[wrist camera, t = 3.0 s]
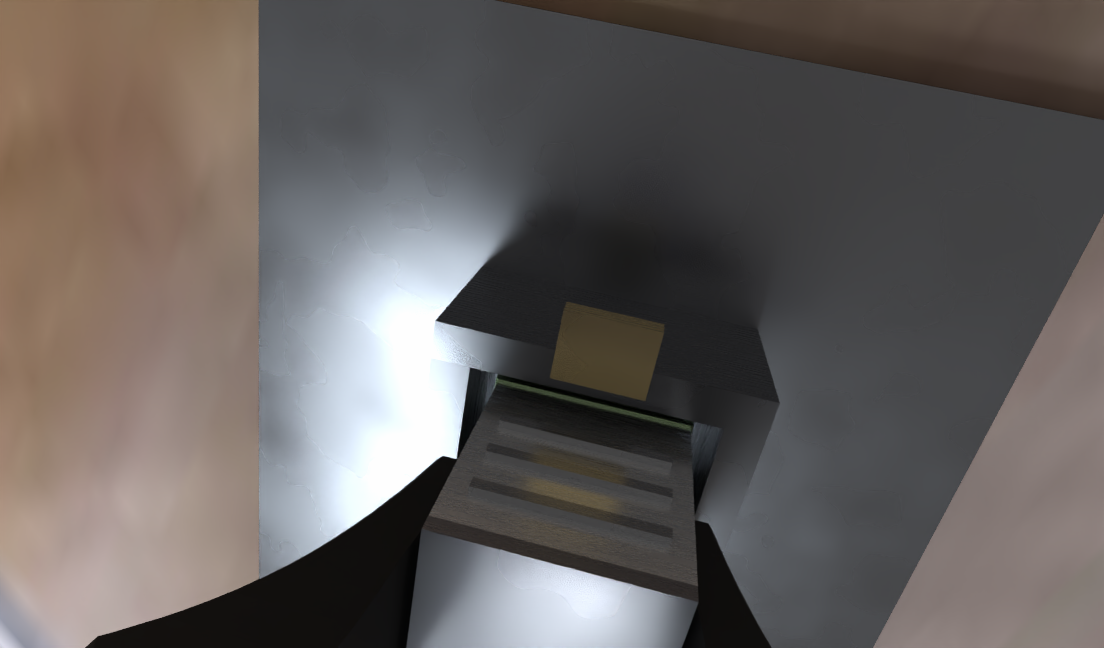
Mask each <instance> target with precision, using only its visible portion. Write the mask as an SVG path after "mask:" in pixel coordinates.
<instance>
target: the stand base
mask: <svg viewBox="0 0 1104 648" xmlns="http://www.w3.org/2000/svg"><path fill="white" fill-rule="evenodd" d="M1103 214H1104V120H1101V119H1096V118H1091V117H1086V116H1081V115H1076V114H1071V113H1066V112H1060V111H1055V110H1050V109H1045V108H1040V107H1035V106H1030V105H1025V104H1020V103H1015V102H1010V101H1004V100H999V99H994V98H989V97H984V96H979V95H974V94H969V93H964V92H959V91H954V90H949V89H943V88H938V87H933V86H928V85H923V84H918V83H913V82H908V81H903V80H898V79H893V78H887V77H882V76H877V75H872V74H867V73H862V72H857V71H852V70H847V69H842V68H837V67H832V66H826V65H821V64H816V63H811V62H806V61H801V60H796V59H791V58H786V57H781V56H776V55H771V54H765V53H760V52H755V51H750V50H745V49H740V48H735V47H730V46H725V45H720V44H715V43H709V42H704V41H699V40H694V39H689V38H684V37H679V36H674V35H669V34H664V33H659V32H654V31H648V30H643V29H638V28H633V27H628V26H623V25H618V24H613V23H608V22H603V21H598V20H592V19H587V18H582V17H577V16H572V15H567V14H562V13H557V12H552V11H547V10H542V9H537V8H531V7H526V6H521V5H516V4H511V3H506V2H501V1H496V0H259V579H261V578H263V577H265V576H267V575H269V574H271V573H273V572H275V571H277V570H279V569H281V568H283V567H285V566H287V565H289V564H291V563H292V562H294V561H296V560H298V559H300V558H301V557H303V556H305V555H307V554H309V553H310V552H312V551H314V550H315V549H317V548H319V547H321V546H322V545H324V544H325V543H327V542H329V541H330V540H332V539H333V538H335V537H337V536H338V535H340V534H341V533H343V532H344V531H345V530H347V529H348V528H350V527H351V526H353V525H354V524H356V523H357V522H359V521H360V520H362V519H363V518H365V517H366V516H367V515H369V514H370V513H372V512H373V511H374V510H376V509H377V508H378V507H380V506H381V505H382V504H383V503H385V502H386V501H387V500H389V499H390V498H391V497H393V496H394V495H395V494H397V493H398V492H399V491H400V490H402V489H403V488H404V487H405V486H406V485H408V484H409V483H410V482H411V481H412V480H414V479H415V478H416V477H417V476H418V475H420V474H421V473H422V472H423V471H424V470H425V469H426V468H428V467H429V466H430V465H431V464H432V463H433V462H434V461H435V460H436V459H438V458H440V457H442V456H446V457H450V458H454V459H458V458H459V456H460V454H461V452H462V450H463V448H464V446H465V444H466V442H467V440H468V438H469V437H470V435H471V433H472V431H473V429H474V427H475V425H476V423H477V421H478V419H479V417H480V415H481V413H482V412H483V410H484V408H485V406H486V404H487V402H488V400H489V398H490V396H491V394H492V392H493V390H494V388H495V383H496V378H497V376H498V374H500V375H504V376H508V377H512V378H516V379H520V380H524V381H529V382H533V383H537V384H541V385H545V386H549V387H553V388H557V389H561V390H566V391H570V392H574V393H578V394H582V395H586V396H590V397H594V398H598V399H603V400H607V401H611V402H615V403H619V404H623V405H627V406H631V407H636V408H640V409H644V410H648V411H652V412H656V413H660V414H664V415H668V416H673V417H677V418H681V419H685V420H689V421H693V425H694V427H693V430H692V433H691V451H692V472H693V494H694V515H695V520H697V521H701V522H705V523H709V525H710V527H711V528H712V530H713V532H714V535H715V537H716V539H717V542H718V544H719V546H720V548H721V551H722V553H723V555H724V557H725V559H726V562H727V564H728V566H729V568H730V570H731V572H732V574H733V577H734V579H735V581H736V583H737V585H738V587H739V589H740V591H741V593H742V595H743V597H744V598H745V600H746V602H747V604H748V606H749V608H750V610H751V612H752V614H753V615H754V617H755V619H756V621H757V623H758V625H759V626H760V628H761V630H762V632H763V634H764V635H765V637H766V639H767V640H768V642H769V644H770V645H771V647H772V648H873V646H874V645H875V643H876V641H877V639H878V637H879V635H880V633H881V631H882V630H883V628H884V626H885V624H886V622H887V620H888V618H889V616H890V614H891V613H892V611H893V609H894V607H895V605H896V603H897V601H898V599H899V598H900V596H901V594H902V592H903V590H904V588H905V586H906V584H907V583H908V581H909V579H910V577H911V575H912V573H913V571H914V569H915V567H916V566H917V564H918V562H919V560H920V558H921V556H922V554H923V552H924V551H925V549H926V547H927V545H928V543H929V541H930V539H931V537H932V536H933V534H934V532H935V530H936V528H937V526H938V524H939V522H940V520H941V519H942V517H943V515H944V513H945V511H946V509H947V507H948V505H949V504H950V502H951V500H952V498H953V496H954V494H955V492H956V490H957V489H958V487H959V485H960V483H961V481H962V479H963V477H964V475H965V473H966V472H967V470H968V468H969V466H970V464H971V462H972V460H973V458H974V457H975V455H976V453H977V451H978V449H979V447H980V445H981V443H982V442H983V440H984V438H985V436H986V434H987V432H988V430H989V428H990V426H991V425H992V423H993V421H994V419H995V417H996V415H997V413H998V411H999V410H1000V408H1001V406H1002V404H1003V402H1004V400H1005V398H1006V396H1007V395H1008V393H1009V391H1010V389H1011V387H1012V385H1013V383H1014V381H1015V379H1016V378H1017V376H1018V374H1019V372H1020V370H1021V368H1022V366H1023V364H1024V363H1025V361H1026V359H1027V357H1028V355H1029V353H1030V351H1031V349H1032V348H1033V346H1034V344H1035V342H1036V340H1037V338H1038V336H1039V334H1040V332H1041V331H1042V329H1043V327H1044V325H1045V323H1046V321H1047V319H1048V317H1049V316H1050V314H1051V312H1052V310H1053V308H1054V306H1055V304H1056V302H1057V301H1058V299H1059V297H1060V295H1061V293H1062V291H1063V289H1064V287H1065V285H1066V284H1067V282H1068V280H1069V278H1070V276H1071V274H1072V272H1073V270H1074V269H1075V267H1076V265H1077V263H1078V261H1079V259H1080V257H1081V255H1082V254H1083V252H1084V250H1085V248H1086V246H1087V244H1088V242H1089V240H1090V238H1091V237H1092V235H1093V233H1094V231H1095V229H1096V227H1097V225H1098V223H1099V222H1100V220H1101V218H1102V216H1103Z"/></svg>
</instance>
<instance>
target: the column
mask: <svg viewBox="0 0 1104 648" xmlns="http://www.w3.org/2000/svg"><path fill="white" fill-rule="evenodd" d="M693 427H694V425H693V421H689V420H685V419H681V418H677V417H673V416H668V415H664V414H660V413H656V412H652V411H648V410H644V409H640V408H636V407H631V406H627V405H623V404H619V403H615V402H611V401H607V400H603V399H598V398H594V397H590V396H586V395H582V394H578V393H574V392H570V391H566V390H561V389H557V388H553V387H549V386H545V385H541V384H537V383H533V382H529V381H524V380H520V379H516V378H512V377H508V376H504V375H500V374H498V376H497V378H496V383H495V388H494V390H493V392H492V394H491V396H490V398H489V400H488V402H487V404H486V406H485V408H484V410H483V412H482V413H481V415H480V417H479V419H478V421H477V423H476V425H475V427H474V429H473V431H472V433H471V435H470V437H469V438H468V440H467V442H466V444H465V446H464V448H463V450H462V452H461V454H460V456H459V458H458V460H457V462H456V464H455V465H454V467H453V469H452V471H451V473H450V475H449V477H448V479H447V481H446V483H445V485H444V487H443V489H442V490H441V492H440V494H439V496H438V498H437V500H436V502H435V504H434V506H433V508H432V510H431V512H430V514H429V515H428V517H427V519H426V521H425V523H424V525H423V527H422V529H421V537H420V545H419V553H418V561H417V569H416V577H415V584H414V592H413V600H412V608H411V616H410V624H409V632H408V639H407V647H406V648H682V646H683V643H684V641H685V638H686V635H687V632H688V630H689V627H690V624H691V621H692V619H693V616H694V613H695V611H696V608H697V605H698V602H699V601H698V580H697V558H696V537H695V515H694V494H693V472H692V451H691V433H692V430H693Z"/></svg>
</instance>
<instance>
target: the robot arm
mask: <svg viewBox="0 0 1104 648" xmlns="http://www.w3.org/2000/svg"><path fill="white" fill-rule="evenodd" d="M457 460H458V459H454V458H450V457H446V456H442V457H440V458H438V459H436V460H435V461H434V462H433V463H432V464H431V465H430V466H429V467H428V468H426V469H425V470H424V471H423V472H422V473H421V474H420V475H418V476H417V477H416V478H415V479H414V480H412V481H411V482H410V483H409V484H408V485H406V486H405V487H404V488H403V489H402V490H400V491H399V492H398V493H397V494H395V495H394V496H393V497H391V498H390V499H389V500H387V501H386V502H385V503H383V504H382V505H381V506H380V507H378V508H377V509H376V510H374V511H373V512H372V513H370V514H369V515H367V516H366V517H365V518H363V519H362V520H360V521H359V522H357V523H356V524H354V525H353V526H351V527H350V528H348V529H347V530H345V531H344V532H343V533H341V534H340V535H338V536H337V537H335V538H333V539H332V540H330V541H329V542H327V543H325V544H324V545H322V546H321V547H319V548H317V549H315V550H314V551H312V552H310V553H309V554H307V555H305V556H303V557H301V558H300V559H298V560H296V561H294V562H292V563H291V564H289V565H287V566H285V567H283V568H281V569H279V570H277V571H275V572H273V573H271V574H269V575H267V576H265V577H263V578H261V579H258V580H256V581H254V582H252V583H250V584H248V585H246V586H243V587H241V588H239V589H237V590H234V591H232V592H230V593H227V594H225V595H222V596H220V597H217V598H215V599H212V600H210V601H207V602H204V603H202V604H199V605H196V606H194V607H191V608H188V609H185V610H183V611H180V612H177V613H174V614H171V615H168V616H165V617H162V618H159V619H155V620H152V621H149V622H145V623H142V624H139V625H136V626H132V627H129V628H126V629H122V630H119V631H116V632H112V633H109V634H105V635H101V636H98V637H97V638H95V639H94V640H93V641H92V642H91V643H90V644H89V645H88V646H87V647H85V648H406V647H407V639H408V632H409V624H410V616H411V608H412V600H413V592H414V584H415V577H416V569H417V561H418V553H419V545H420V537H421V529H422V527H423V525H424V523H425V521H426V519H427V517H428V515H429V514H430V512H431V510H432V508H433V506H434V504H435V502H436V500H437V498H438V496H439V494H440V492H441V490H442V489H443V487H444V485H445V483H446V481H447V479H448V477H449V475H450V473H451V471H452V469H453V467H454V465H455V464H456V462H457ZM695 537H696V558H697V580H698V601H699V602H698V605H697V608H696V611H695V613H694V616H693V619H692V621H691V624H690V627H689V630H688V632H687V635H686V638H685V641H684V643H683V646H682V648H772V647H771V645H770V644H769V642H768V640H767V639H766V637H765V635H764V634H763V632H762V630H761V628H760V626H759V625H758V623H757V621H756V619H755V617H754V615H753V614H752V612H751V610H750V608H749V606H748V604H747V602H746V600H745V598H744V597H743V595H742V593H741V591H740V589H739V587H738V585H737V583H736V581H735V579H734V577H733V574H732V572H731V570H730V568H729V566H728V564H727V562H726V559H725V557H724V555H723V553H722V551H721V548H720V546H719V544H718V542H717V539H716V537H715V535H714V532H713V530H712V528H711V527H710V525H709V523H705V522H701V521H697V520H695Z"/></svg>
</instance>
